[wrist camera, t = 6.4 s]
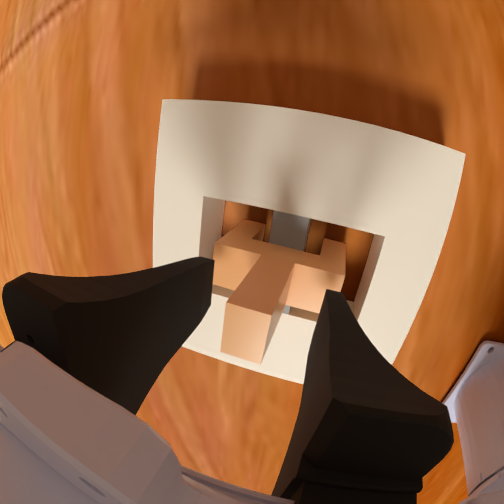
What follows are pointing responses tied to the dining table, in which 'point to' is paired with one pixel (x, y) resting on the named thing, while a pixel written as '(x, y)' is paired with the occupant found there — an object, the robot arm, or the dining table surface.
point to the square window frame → (304, 209)
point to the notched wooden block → (269, 285)
